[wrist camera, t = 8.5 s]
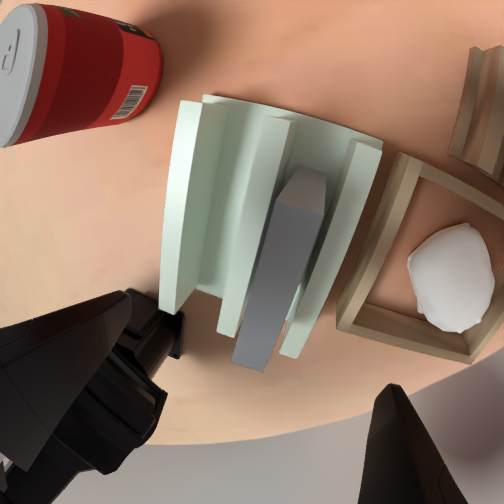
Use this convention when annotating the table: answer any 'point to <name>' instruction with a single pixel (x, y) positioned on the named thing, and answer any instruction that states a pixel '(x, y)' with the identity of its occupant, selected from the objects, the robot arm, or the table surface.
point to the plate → (281, 265)
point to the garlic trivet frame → (371, 260)
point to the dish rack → (255, 204)
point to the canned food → (71, 72)
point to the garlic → (452, 278)
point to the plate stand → (482, 115)
